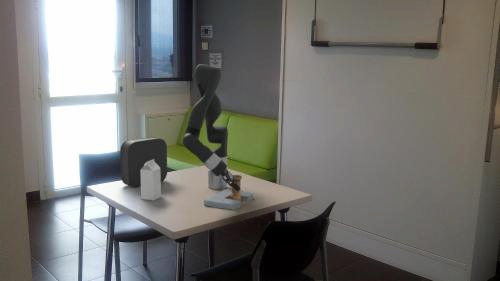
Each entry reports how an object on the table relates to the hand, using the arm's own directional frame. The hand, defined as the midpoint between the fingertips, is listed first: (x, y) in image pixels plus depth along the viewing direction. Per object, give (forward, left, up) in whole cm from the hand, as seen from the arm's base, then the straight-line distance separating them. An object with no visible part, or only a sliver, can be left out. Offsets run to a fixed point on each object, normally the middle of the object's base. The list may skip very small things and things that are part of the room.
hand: (238, 187), depth 231 cm
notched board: (-5, -1, -7) cm, 9 cm away
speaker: (-62, +7, -8) cm, 63 cm away
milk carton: (-42, -14, -8) cm, 45 cm away
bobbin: (-1, -1, -7) cm, 7 cm away
